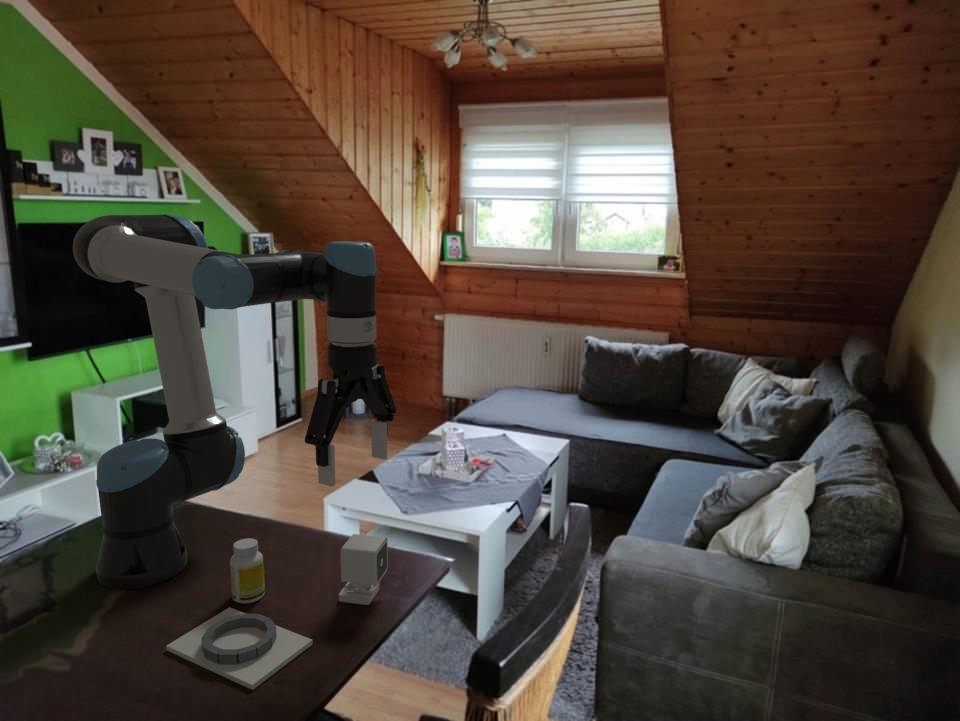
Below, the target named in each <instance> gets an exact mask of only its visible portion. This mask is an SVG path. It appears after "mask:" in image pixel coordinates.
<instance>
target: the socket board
mask: <svg viewBox="0 0 960 721" xmlns="http://www.w3.org/2000/svg"><path fill="white" fill-rule="evenodd" d="M313 644H314V642H313V639H312V638H309V637H306V636H304V635H301V634H299V633H297V632H293V631H292V630H289V629H286V628H284V627H281V626H278V625H276V624H275V622H274V620H273V619H272V618H270V617H268V616H265V615H263V614H260V613H246V612H243V611H240V610H238V609H235V608H232V607H231V606H229V607H228V608H225V609H224V610H223V611H220V612H219V613H218V614H216V615H214V616H213V617H211V618H210V619H208V620H206V621H205V622H203V623H201V624H199V625H198V626H196V627H194V628H193V629H192V630H189V631H188V632H185V633H184V634H183V635H182V636H180V637H178V638H176V639H175V640H173V641H172V642H170V643H169V644H168V643H167V645H166V646H165V647H166V651H168V652H170V653H171V654H174V655H175V656H177V657H180V658H182V659H184V660H187V661H188V662H190V663H194V664H195V665H197V666H200V667H201V668H205V669H206V670H208V671H211V672H213V673H214V674H217V675H219V676H222V677H223V678H225V679H227V680H230V681H232V682H235V683H237V684H238V685H240V686H243V687H245V688H247V689H249V690H252V691H253V690H255V689H256V688H257V687H259V686H260V685H261V684H263V683H264V682H266V681H267V680H268V679H269V678H271V677H272V676H273V675H275V674H277V672H278V671H280V669H283V668H284V667H285V666H286V665H288V664H289V663H290V662H291V661H293V660H294V659H296V658H297V657H298V656H299V655H301V654H302V653H303V652H305V651H306V650H307V649H308V648H310V647H311V646H312V645H313Z"/></svg>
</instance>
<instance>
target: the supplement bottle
mask: <svg viewBox="0 0 960 721" xmlns="http://www.w3.org/2000/svg"><path fill="white" fill-rule="evenodd" d="M232 546H233V547H232V549H233V555H231V557H230V559H229V567H230V568H229V570H230V585H231V586H230V587H231V598H232V600H233V601H234V602H235V603H239V604H252V603H254V602H257V601H259V600H261V599H262V598H263V597H264V595H265V593H266V585H265V568H264V567H265V566H264V556H263V554H262V553H261V552H260V551H259V541H258V540H257V539H255V538H247V537H246V538H242V539H239V540H236V541H235V542H234V543H233V544H232Z"/></svg>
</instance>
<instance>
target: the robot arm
mask: <svg viewBox="0 0 960 721" xmlns="http://www.w3.org/2000/svg"><path fill="white" fill-rule="evenodd" d="M72 253H73V256H74V260H75V262H76V263H77V265H78V267H80V268H81V270H82V271H83V272H84V273H85V274H87V275H89V276H91V277H93V278H94V279H98V280H101V281H106V282H109V283H124V282H128V281H130V282H133V286H134V291H135V292H137V293H138V294H140V295H141V296H142V297H144V299H145V302H146V307H147V311H148V317H149V322H150V328H151V333H152V338H153V344H154V350H155V353H156V360H157V364H158V369H159V374H160V379H161V385H162V390H163V395H164V400H165V406H166V411H167V416H168V422H167V425H166V426H165V428H164V429H163V430H162V434H163V439H159V438H142V439H140V440H137V439H136V440H135V439H134V440H130V441H127V442H124V443H121V444H118V445H116V446H114V447H112V448H110V449H108V450H107V451H106V452H104V453H103V454H102V455H101V457H100V458H99V460H98V461H97V462H96V482H95V484H96V487H97V492H98V499H99V507H100V514H101V515H100V518H101V525H102V532H103V533H102V534H103V536H102V541H101V543H100V544H101V545H100V549H99V553H98V559H97V561H96V563H95V571H96V579H97V582H98V583H99V584H100V585H102V586H103V587H105V588H108V589H114V590H133V589H140V588H141V589H142V588H145V587H150V586H154V585H156V584H160V583H162V582H166V581H168V580H169V579H172V578H173V577H175V576H176V575H178V574H179V573H181V572H182V571H183V570H184V569H185V567H186V566H187V564H188V562H189V561H188V552H187V550H188V549H187V547H186V545H185V542H184V540H183V539H182V536H181V535H180V533H179V531H178V529H177V526H176V525H175V521H174V520H175V518H174V508H173V507H174V506H175V505H177V504H180V503H183V502H186V501H189V500H191V499H194V498H196V497H199V496H202V495H204V494H208V493H210V492H212V491H218V490H221V489H222V488H223V487H225V486H227V485H229V484H232V483H233V482H235V481H236V480H237V479H238V478H239V476H240V474H241V473H242V472H243V469H244V466H245V463H246V462H245V460H246V449H245V445H244V441H243V439H242V437H241V436H239V432H238V431H237V430H236V429H235V428H233V427H231V426H228V424H227V419H226V418H225V417H224V416H222V415H220V414H219V413H218V412H217V408H216V405H215V399H214V394H213V389H212V383H211V376H210V371H209V366H208V360H207V357H206V356H207V355H206V350H205V345H204V339H203V335H202V328H201V322H200V319H199V312H198V308H197V301H196V299H198V301H200V302H201V303H202V305H203V306H204V307H205V308H208V309H211V310H236V309H239V308H244V307H251V306H258V305H259V306H260V305H267V304H275V303H282V302H283V303H285V302H291V301H299V300H311V301H312V300H313V301H320V302H321V301H322V302H326V309H327V310H326V321H327V323H326V325H327V327H326V332H327V337H326V338H327V340H328V341H329V342H330V343H329V344H328V345H327V359H328V360H327V361H328V362H327V363H328V367H330V369H332V371H333V376H332V378H331V379H324V378H320V379H319V380H318V382H317V394H316V398H315V402H314V405H313V408H312V409H313V410H312V413H311V416H310V420H309V423H308V426H307V430H306V432H305V437H304V443H306V444H307V445H311V446H312V445H313V446H315V463H316V466H317V472H318V474H317V476H318V477H317V480H318V484H321V485H324V486H328V487H335V486H336V454H335V450H336V448H335V444H332V441H333V439H334V436H335V434H336V432H337V429H338V427H339V425H340V423H341V422H342V419H343V417H344V415H345V412H346V409H348V408H350V406H351V404H353V403H354V402H356V401H358V400H362V401H363V403H364V404H365V406H366V407H367V408H368V409H369V412H370V413H371V414H372V416H373V417H374V418H375V419H372V420H371V423H370V425H371V427H370V428H371V458H375V459H381V460H387V459H388V436H389V424H388V423H389V422H393V421H394V420H395V419H394V417H395V416H394V415H395V414H396V412H397V407H396V405H395V401H394V398H393V396H392V393H391V390H390V387H389V384H388V382H387V377H386V370H385V369H386V368H385V366H384V365H382V364H381V365H380V364H377V363H378V349H377V348H378V346H377V343H375V342H374V341H375V340H376V339H377V275H378V268H377V261H376V260H377V259H376V248H375V247H374V245H373V244H372V243H371V242H366V241H353V240H351V241H350V240H348V241H347V240H341V241H340V240H339V241H338V240H337V241H335V240H334V241H329V242H327V243H326V245H325V252H324V253H322V252H314V251H313V252H312V251H304V250H303V251H302V250H299V249H294V250H291V249H289V250H288V249H287V250H280V251H277V252H273V253H272V252H270V253H269V252H267V253H260V254H256V253H255V254H253V253H251V254H248V253H247V254H240V253H232V252H227V251H222V250H217V249H211V248H209V246H208V243H207V239H206V237H205V235H204V234H203V232H202V231H201V229H200V227H199V226H198V225H196V224H195V223H194V222H193V221H192V220H191V219H189V218H187V217H185V216H182V215H181V216H180V215H169V214H139V215H138V214H128V215H127V214H126V215H125V214H122V215H121V214H110V215H109V214H107V215H102V216H98V217H95V218H93V219H92V218H91V220H89V221H87V222H86V223H84V224H83V225H82V226H81V227H80V228H79V229H78V230H77V232H76V234H75V236H74V238H73V243H72ZM195 297H196V298H195Z"/></svg>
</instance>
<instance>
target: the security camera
mask: <svg viewBox="0 0 960 721" xmlns="http://www.w3.org/2000/svg"><path fill="white" fill-rule="evenodd" d="M388 542H389V541H388V537H387V536H385V537H384V536H379V535H378V536H377V535H367V534H358V533H357V534H356V533H353V534H352V535H351V536H350V537H349V538H348V540H346V542H345V543H344V544H343V545H342V546H341V548H340V576H341V582H342V583H345V582H346V584H345V585H344V587H343V588H342V589H341V590H340V591H339V593H338V601H339V602H340V603H349V604H356V605H366V606H369V605H370V604H371V602H372V601H373V600H374V599H375V596H376V595H377V594H378V593H379V590H380V583H381V580H382V579H383V578H384V576H385V575H386V573H387V571H388V569H389V550H388V548H389V547H388V546H389V545H388V544H389V543H388Z"/></svg>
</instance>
